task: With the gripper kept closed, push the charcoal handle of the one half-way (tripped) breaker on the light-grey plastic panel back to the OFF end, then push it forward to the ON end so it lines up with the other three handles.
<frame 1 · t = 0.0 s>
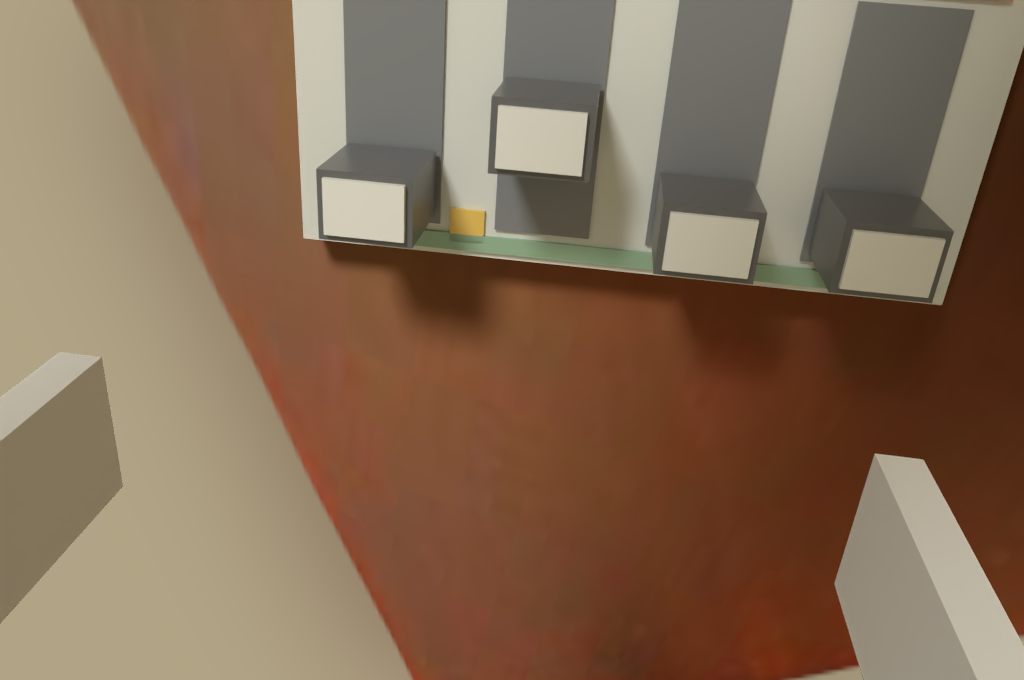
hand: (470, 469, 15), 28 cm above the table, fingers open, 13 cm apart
breaker 3: (704, 227, 36), point 5 cm above the table, slide at 7.0 cm
breaker 2: (545, 128, 35), point 5 cm above the table, slide at 3.5 cm
panel: (631, 111, 39), on the table
breaker 1: (378, 194, 37), point 5 cm above the table, slide at 7.0 cm
breaker 4: (876, 244, 35), point 5 cm above the table, slide at 7.0 cm
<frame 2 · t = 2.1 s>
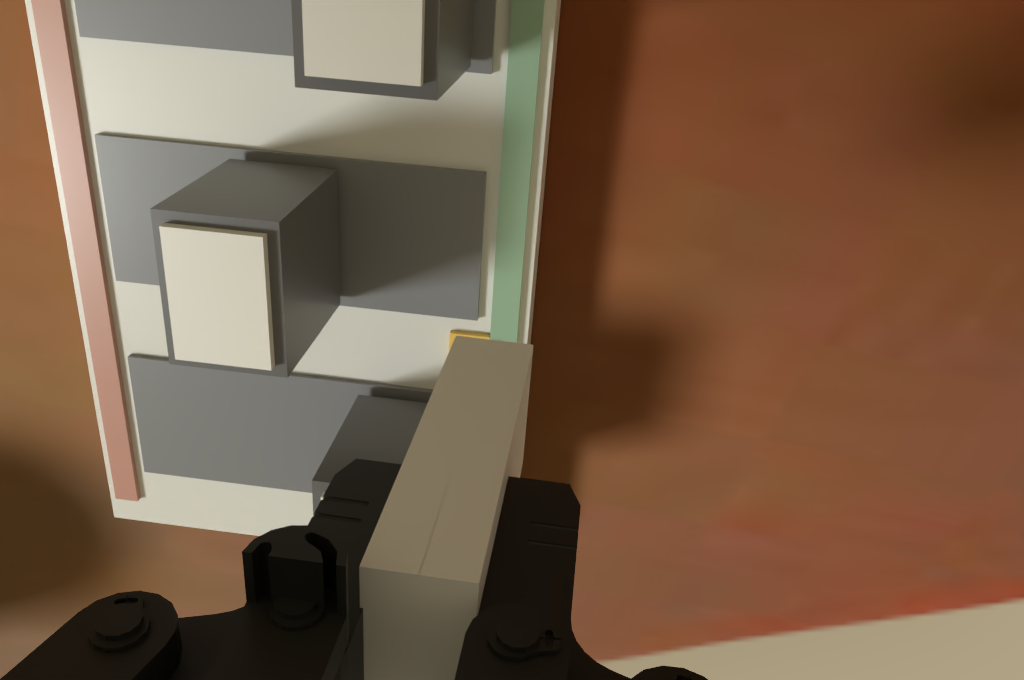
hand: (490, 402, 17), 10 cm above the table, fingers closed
breaker 2: (255, 264, 22), point 5 cm above the table, slide at 3.5 cm
panel: (310, 90, 25), on the table
breaker 1: (387, 500, 25), point 5 cm above the table, slide at 7.0 cm
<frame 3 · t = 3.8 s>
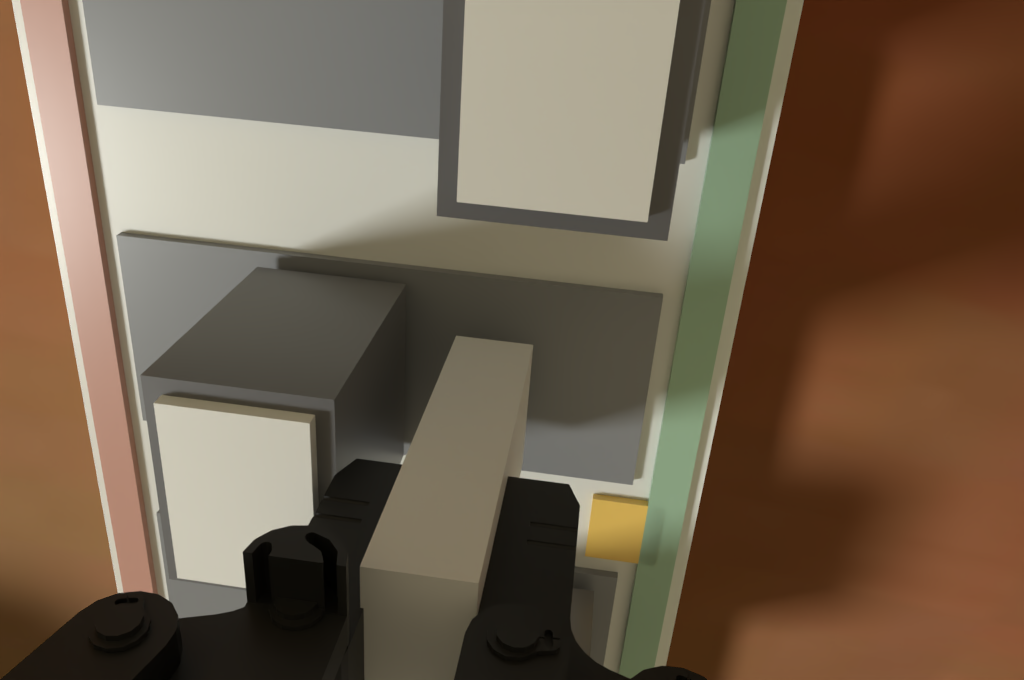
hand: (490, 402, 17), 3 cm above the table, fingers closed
breaker 3: (576, 44, 12), point 5 cm above the table, slide at 7.0 cm
breaker 2: (292, 425, 16), point 5 cm above the table, slide at 2.5 cm, touching gripper
panel: (409, 171, 18), on the table
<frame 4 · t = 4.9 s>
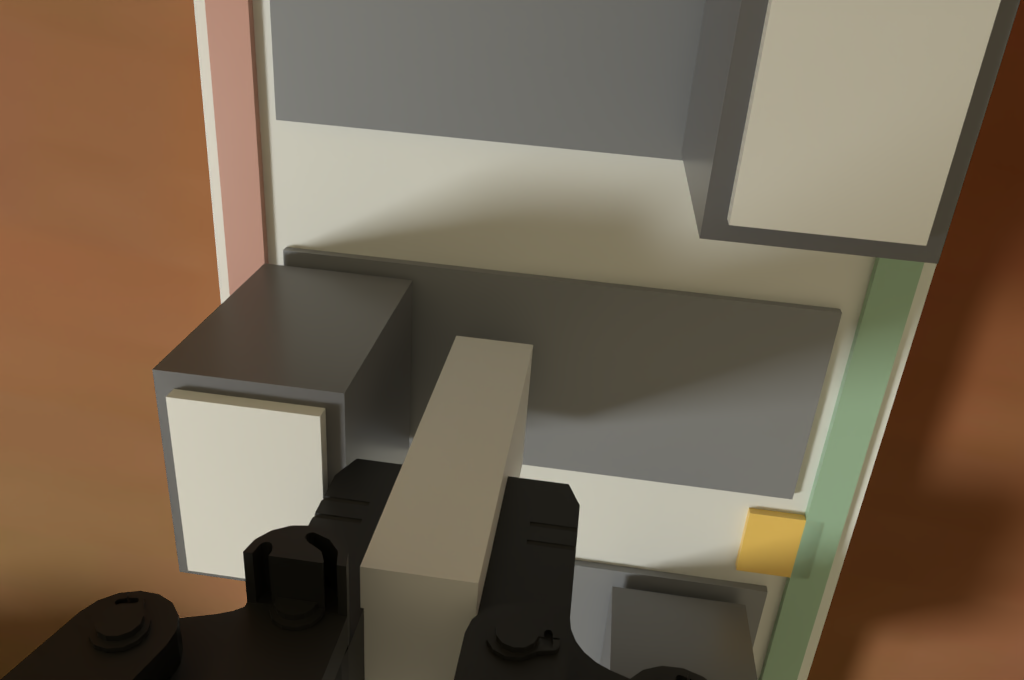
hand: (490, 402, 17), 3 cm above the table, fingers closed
breaker 3: (820, 64, 12), point 5 cm above the table, slide at 7.0 cm
breaker 2: (300, 420, 16), point 5 cm above the table, slide at -0.8 cm, touching gripper
panel: (569, 184, 18), on the table
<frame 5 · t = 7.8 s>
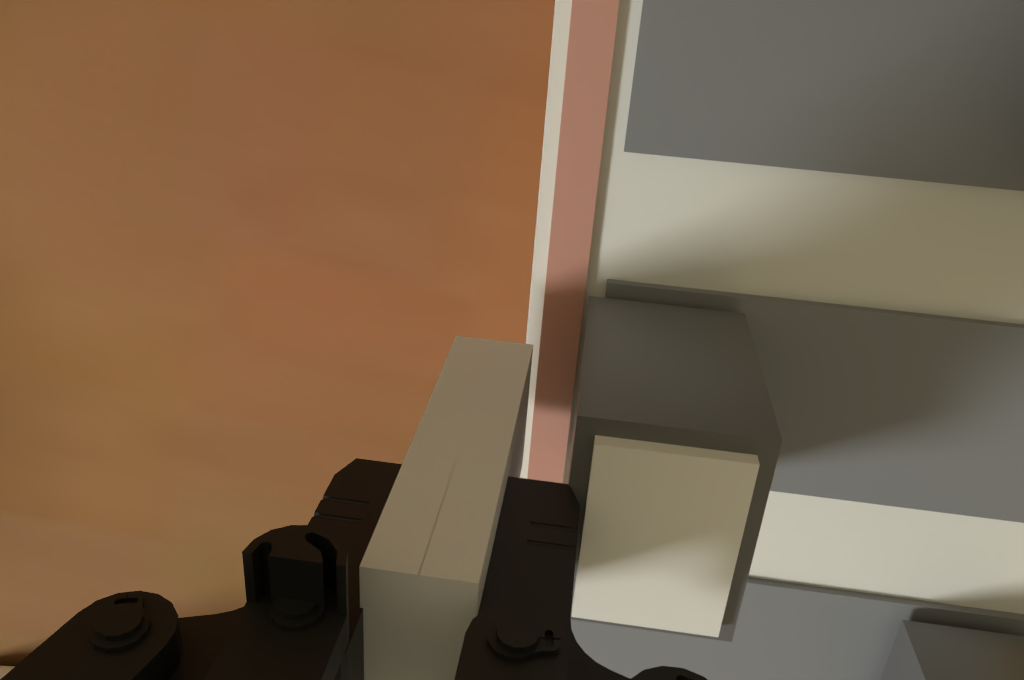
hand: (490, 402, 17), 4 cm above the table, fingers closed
breaker 2: (655, 459, 15), point 5 cm above the table, slide at -0.8 cm, touching gripper
panel: (880, 213, 18), on the table
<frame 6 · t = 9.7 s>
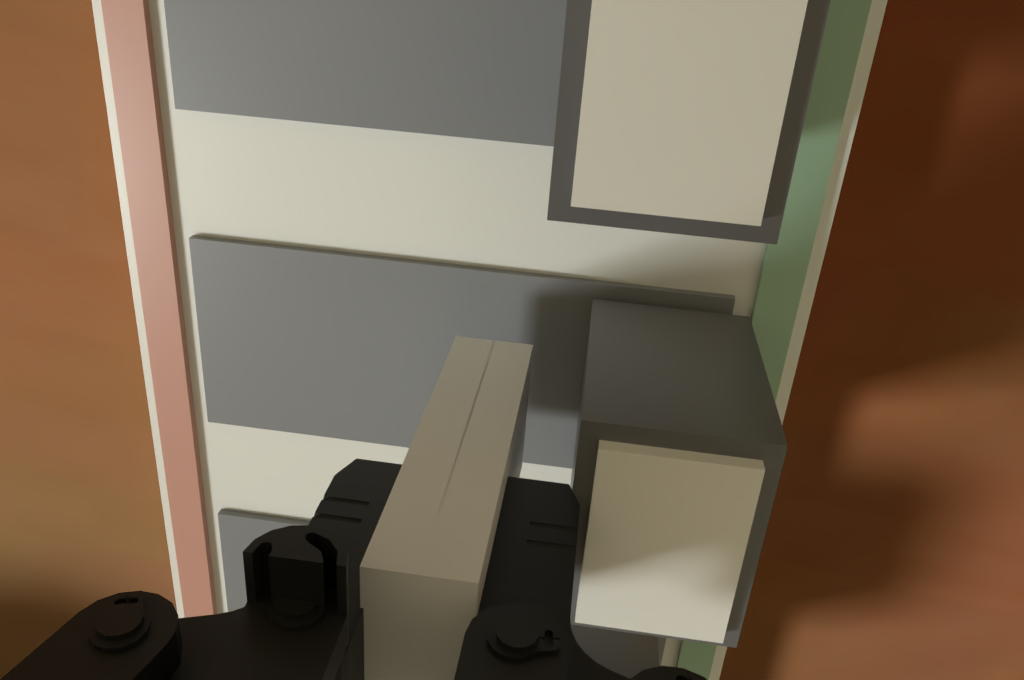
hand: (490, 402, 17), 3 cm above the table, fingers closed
breaker 3: (676, 50, 12), point 5 cm above the table, slide at 7.0 cm
breaker 2: (659, 463, 15), point 5 cm above the table, slide at 7.8 cm, touching gripper
panel: (476, 174, 18), on the table
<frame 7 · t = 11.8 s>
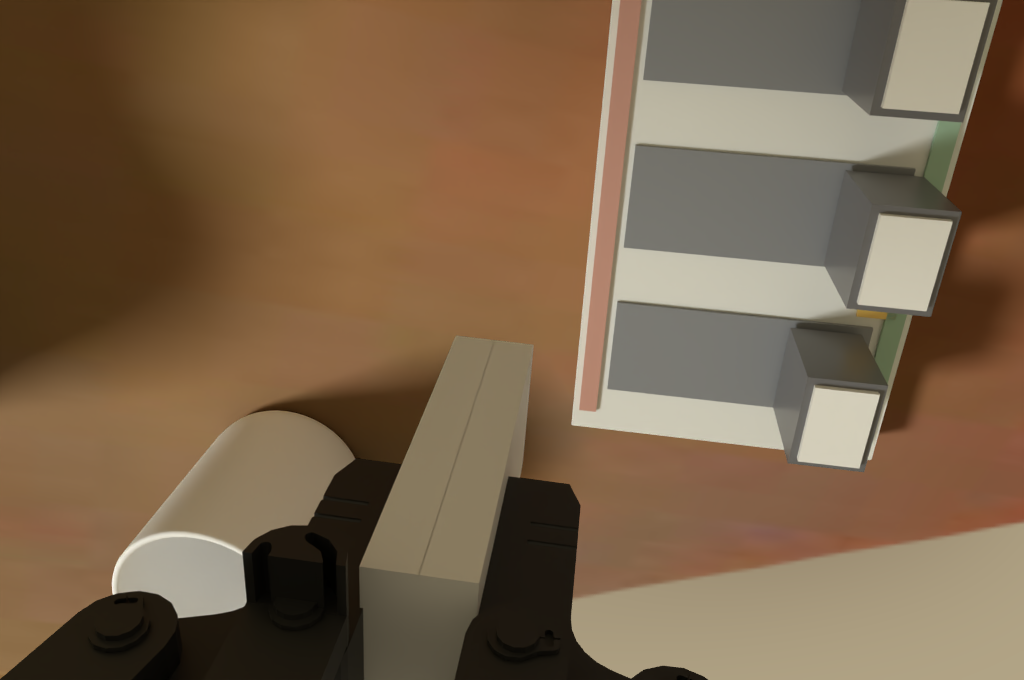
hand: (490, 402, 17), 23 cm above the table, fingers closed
breaker 3: (913, 47, 30), point 5 cm above the table, slide at 7.0 cm
mug: (321, 467, 47), on the table
breaker 2: (887, 241, 33), point 5 cm above the table, slide at 7.8 cm
panel: (772, 113, 36), on the table
breaker 1: (826, 398, 36), point 5 cm above the table, slide at 7.0 cm
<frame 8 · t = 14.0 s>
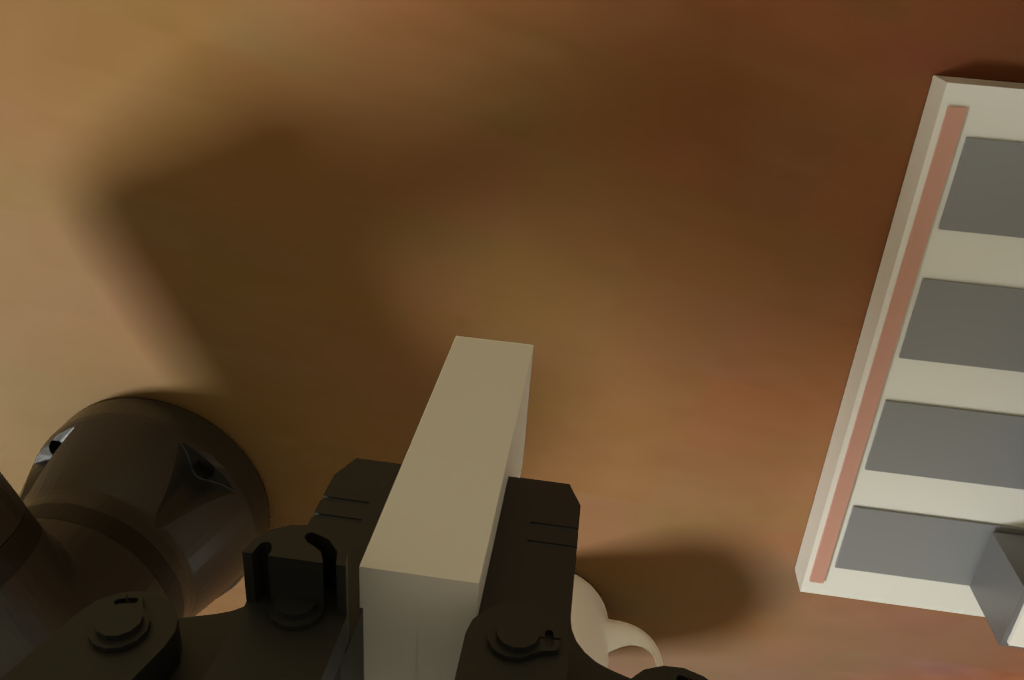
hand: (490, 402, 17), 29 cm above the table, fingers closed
mug: (570, 607, 58), on the table
panel: (986, 372, 47), on the table
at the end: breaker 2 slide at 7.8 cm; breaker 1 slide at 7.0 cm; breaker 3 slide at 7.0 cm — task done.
